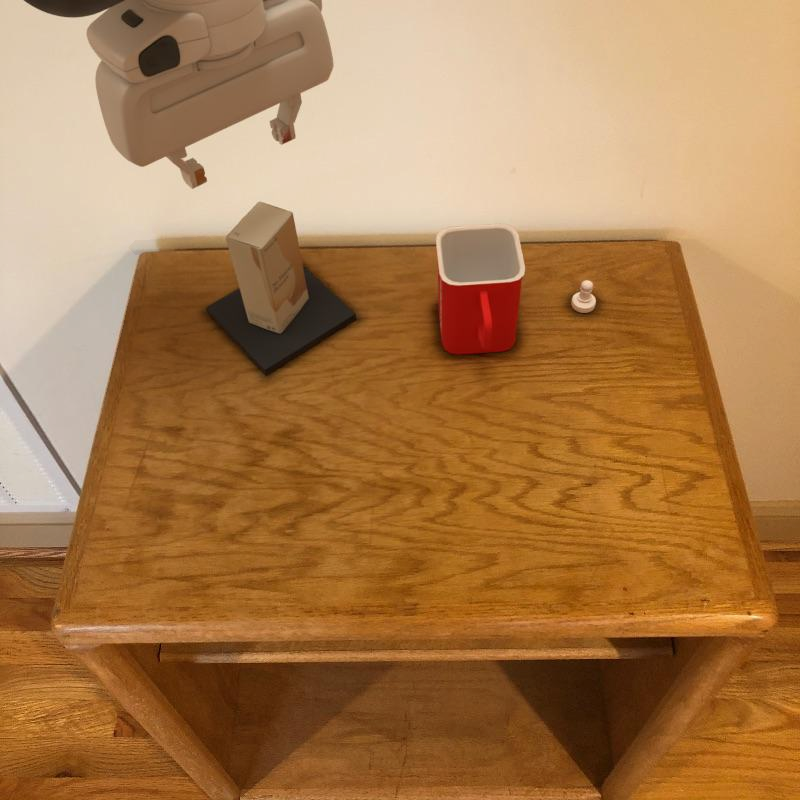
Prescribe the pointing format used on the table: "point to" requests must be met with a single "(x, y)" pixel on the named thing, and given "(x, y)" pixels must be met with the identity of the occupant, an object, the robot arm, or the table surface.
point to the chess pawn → (584, 298)
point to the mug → (479, 287)
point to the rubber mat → (300, 335)
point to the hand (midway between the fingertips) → (241, 160)
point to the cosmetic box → (268, 266)
